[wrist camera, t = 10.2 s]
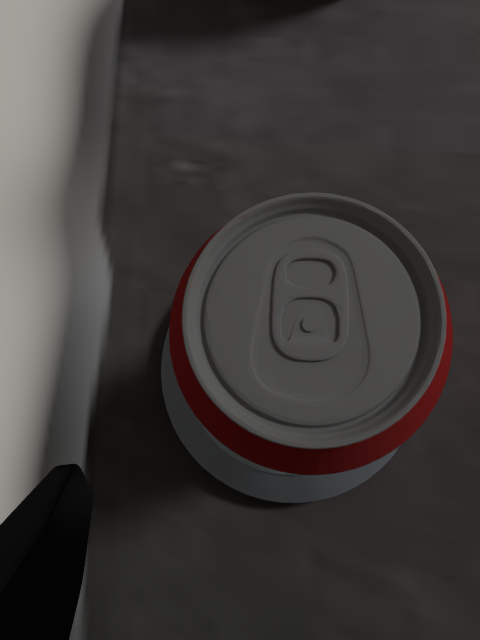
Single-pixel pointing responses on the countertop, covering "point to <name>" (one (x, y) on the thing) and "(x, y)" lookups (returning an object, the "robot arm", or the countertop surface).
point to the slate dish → (243, 471)
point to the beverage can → (311, 334)
